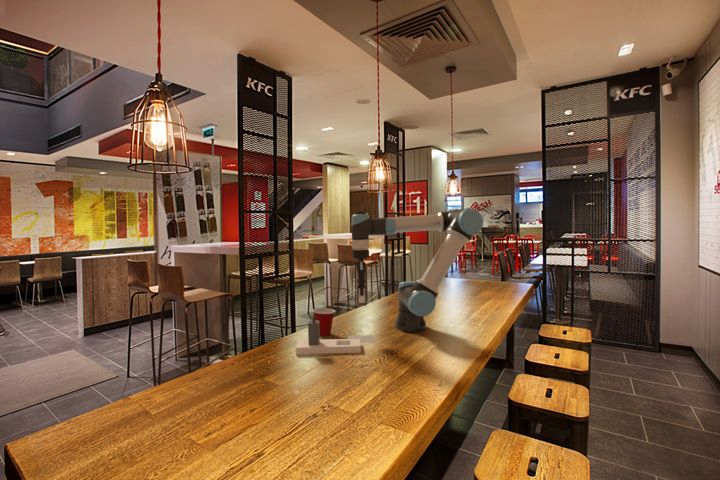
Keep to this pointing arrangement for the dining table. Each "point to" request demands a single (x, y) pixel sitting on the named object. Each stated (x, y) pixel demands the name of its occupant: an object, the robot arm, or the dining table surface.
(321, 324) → the plastic cup
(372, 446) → the dining table surface
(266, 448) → the dining table surface
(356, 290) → the plug
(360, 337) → the white flat slab
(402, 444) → the dining table surface
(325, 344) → the socket stand
